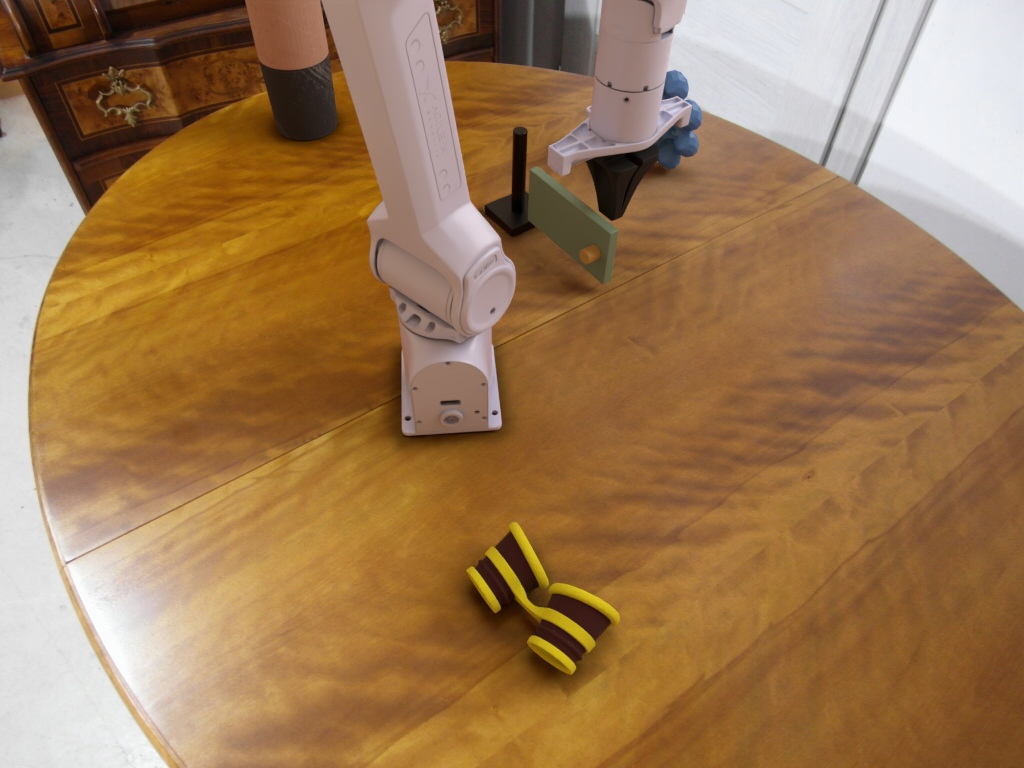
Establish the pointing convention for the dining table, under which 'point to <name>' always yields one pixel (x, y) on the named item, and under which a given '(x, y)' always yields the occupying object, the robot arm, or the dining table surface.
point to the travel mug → (295, 66)
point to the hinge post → (514, 191)
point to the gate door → (572, 225)
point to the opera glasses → (562, 622)
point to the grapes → (675, 137)
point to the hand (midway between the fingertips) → (610, 213)
